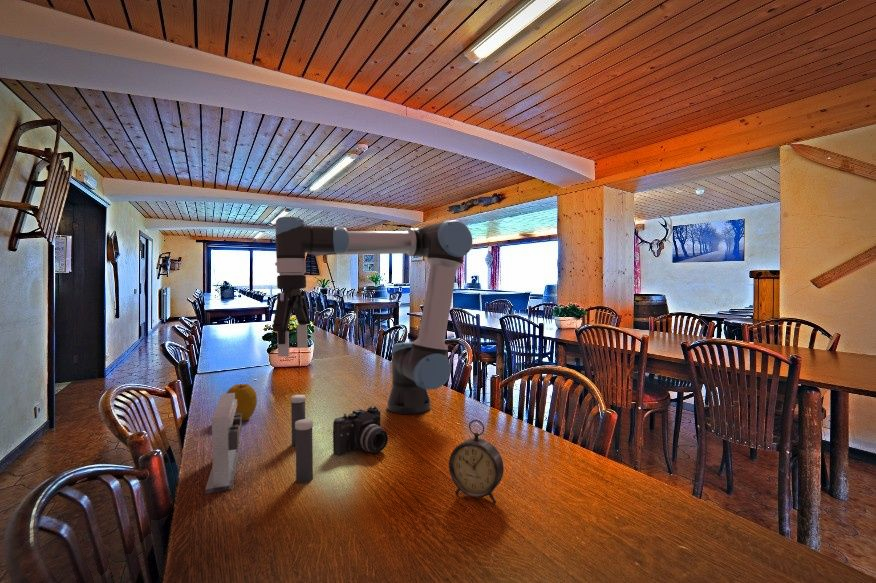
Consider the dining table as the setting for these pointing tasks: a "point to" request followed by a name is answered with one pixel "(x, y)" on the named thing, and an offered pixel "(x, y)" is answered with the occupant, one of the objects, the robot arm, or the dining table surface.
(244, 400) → the yellow-brown oval body
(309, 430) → the post
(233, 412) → the breaker panel
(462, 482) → the alarm clock
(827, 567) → the dining table surface
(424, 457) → the dining table surface
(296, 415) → the post
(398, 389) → the robot arm
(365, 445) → the camera
